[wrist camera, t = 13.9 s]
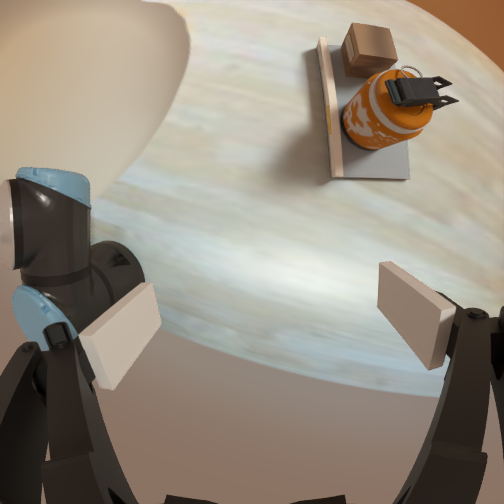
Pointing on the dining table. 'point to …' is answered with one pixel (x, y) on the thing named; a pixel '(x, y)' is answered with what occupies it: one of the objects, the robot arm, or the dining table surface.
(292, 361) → the dining table surface
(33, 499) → the robot arm
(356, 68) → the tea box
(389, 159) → the shelf board
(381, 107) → the canister
